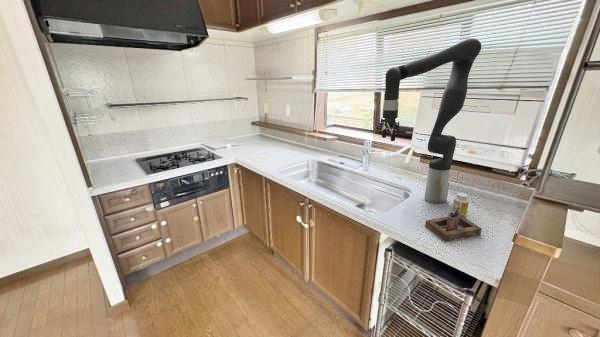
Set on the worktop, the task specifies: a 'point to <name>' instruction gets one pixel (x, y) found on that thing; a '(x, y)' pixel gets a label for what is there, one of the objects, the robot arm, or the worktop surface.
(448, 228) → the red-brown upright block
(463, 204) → the supplement bottle
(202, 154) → the worktop surface
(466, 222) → the slot block
